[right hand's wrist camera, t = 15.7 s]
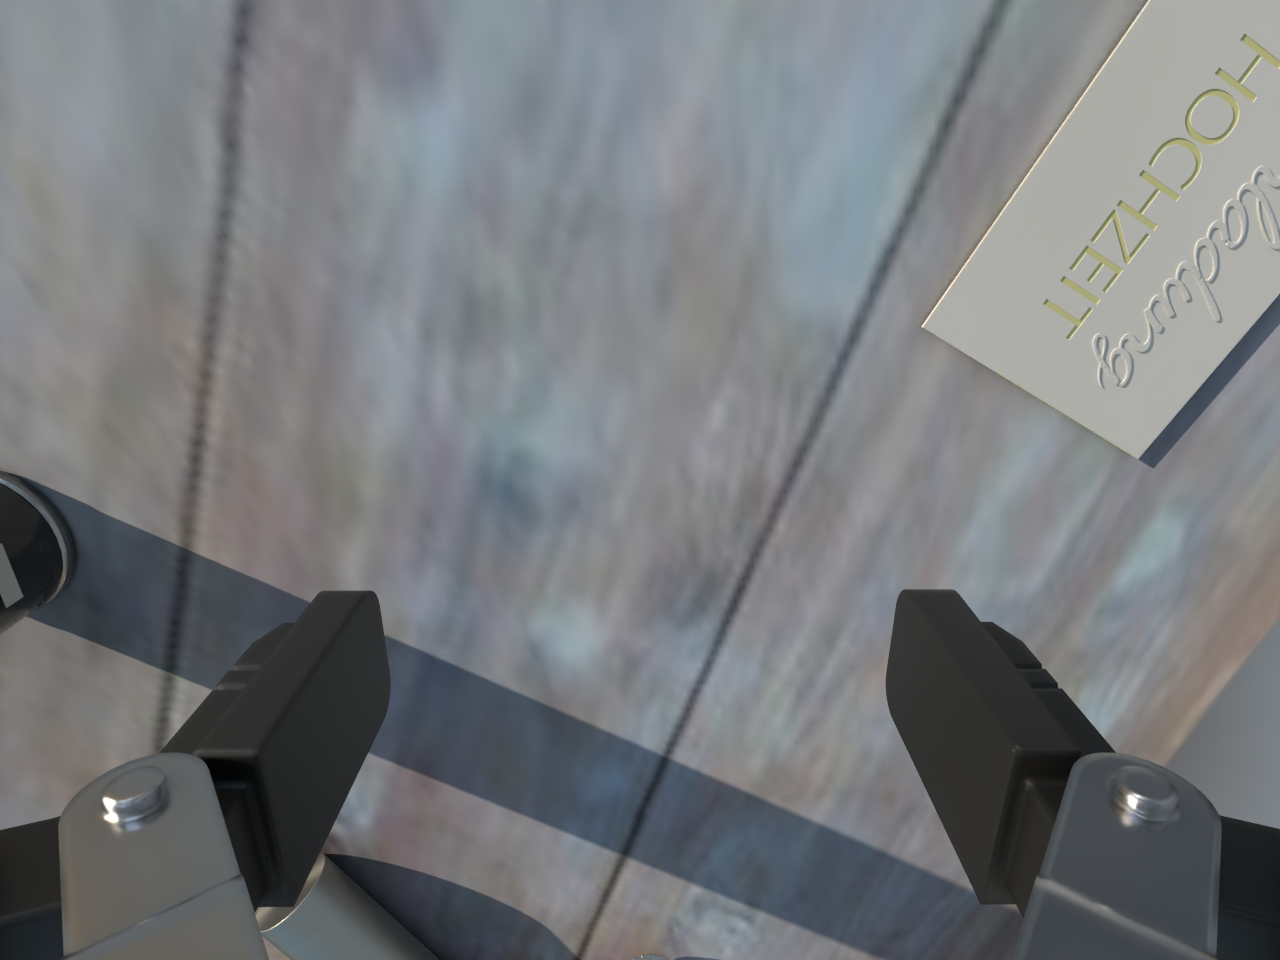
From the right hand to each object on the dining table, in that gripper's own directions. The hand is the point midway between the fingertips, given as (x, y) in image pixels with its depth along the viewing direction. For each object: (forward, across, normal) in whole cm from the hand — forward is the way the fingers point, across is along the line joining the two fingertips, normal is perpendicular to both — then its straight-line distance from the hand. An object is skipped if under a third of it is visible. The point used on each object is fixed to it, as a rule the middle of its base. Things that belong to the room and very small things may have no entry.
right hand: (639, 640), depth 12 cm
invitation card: (+30, +27, +5) cm, 40 cm away
